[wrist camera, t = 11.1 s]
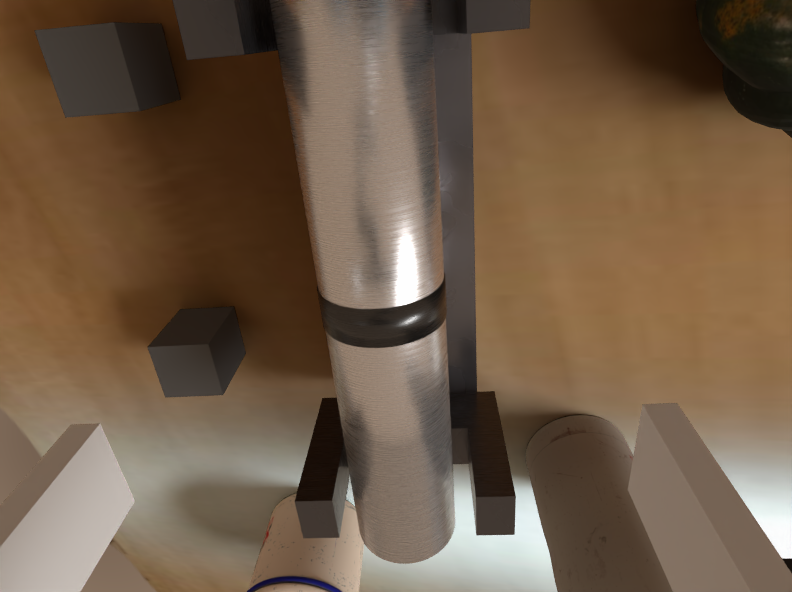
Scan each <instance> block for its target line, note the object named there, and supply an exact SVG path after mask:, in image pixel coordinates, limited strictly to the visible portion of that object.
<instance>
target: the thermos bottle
mask: <svg viewBox="0 0 792 592" xmlns="http://www.w3.org/2000/svg"><path fill="white" fill-rule="evenodd" d="M632 462H633V454H632V452H631V450H630V448H629V446H628V444H627V442H626V440H625V438H624V436H623V434H622V433H621V432H620V430H619V429H618V428H617V427H616V426H614V425H613V424H612V423H610V422H608V421H606V420H604V419H602V418H598V417H595V416H588V415H573V416H568V417H563V418H560V419H557V420H554V421H552V422H550V423H549V424H547V425H545V426H544V427H542V428H541V429H540V430H538V431H537V433H536V434H535V435H534V436H533V437H532V439H531V440H530V442H529V444H528V447H527V450H526V463H527V467H528V471H529V476H530V480H531V484H532V488H533V492H534V496H535V500H536V504H537V509H538V513H539V517H540V521H541V525H542V528H543V532H544V535H545V539H546V542H547V545H548V549H549V552H550V557H551V562H552V568H553V573H554V578H555V583H556V587H557V591H558V592H673V591H672V588H671V586H670V584H669V582H668V579H667V577H666V575H665V573H664V570H663V568H662V566H661V564H660V561H659V559H658V557H657V555H656V552H655V550H654V548H653V545H652V543H651V541H650V539H649V536H648V534H647V532H646V530H645V527H644V525H643V523H642V521H641V518H640V516H639V514H638V512H637V509H636V507H635V505H634V502H633V500H632V498H631V496H630V493H629V491H628V485H629V480H630V474H631V468H632Z"/></svg>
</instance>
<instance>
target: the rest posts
mask: <svg viewBox="0 0 792 592" xmlns="http://www.w3.org/2000/svg"><path fill="white" fill-rule="evenodd" d="M34 31H35V33H36V36H37V39H38V42H39V45H40V47H41V50H42V53H43V56H44V59H45V62H46V64H47V67H48V70H49V73H50V76H51V78H52V81H53V84H54V87H55V90H56V92H57V95H58V98H59V101H60V104H61V106H62V109H63V112H64V115H65V118H66V117H78V116H89V115H101V114H113V113H124V112H136V111H142V110H146V109H149V108H153V107H156V106H160V105H163V104H167V103H170V102H174V101H177V100H181V99H180V95H179V91H178V87H177V83H176V79H175V75H174V71H173V67H172V63H171V60H170V56H169V52H168V48H167V44H166V40H165V36H164V32H163V28H162V24H155V23H117V22H113V23H103V24H93V25H83V26H73V27H63V28H53V29H43V30H34ZM148 350H149V353H150V356H151V358H152V361H153V364H154V367H155V370H156V372H157V375H158V378H159V381H160V384H161V386H162V389H163V392H164V395H165V397H187V396H211V395H223V394H224V393H225V391H226V389H227V387H228V385H229V383H230V381H231V380H232V378H233V376H234V374H235V372H236V370H237V369H238V367H239V365H240V363H241V361H242V359H243V358H244V356H245V354H246V352H245V348H244V344H243V340H242V336H241V332H240V329H239V325H238V321H237V317H236V313H235V309H234V307H216V308H198V309H180V310H179V311H178V312H177V314H176V315H175V316H174V317H173V318H172V319H171V321H170V322H169V323H168V324H167V325H166V326H165V327H164V329H163V330H162V331H161V332H160V333H159V334H158V336H157V337H156V338H155V339H154V340H153V341H152V342H151V344H150V345H149V346H148Z"/></svg>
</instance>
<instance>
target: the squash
mask: <svg viewBox="0 0 792 592" xmlns="http://www.w3.org/2000/svg"><path fill="white" fill-rule="evenodd" d="M696 13H697V18H698V23H699V29H700V33H701V36H702V38H703V40H704V41H705V43H706V44H707V45H708V47H709V48H710V49H711V50H712V51H713V53H714V54H715V55H716V56H717V58H718V59H719V60H720V61H721V62H722V63H723V64H724V65H723V87H724V91H725V94H726V96H727V98H728V100H729V102H730V103H731V104H732V105H733V107H734V108H735V109H736V110H737V111H738V113H740V114H741V115H743V116H744V117H746V118H748V119H749V120H751V121H753V122H756V123H759V124H762V125H764V126H767V127H771V128H776V129H782V130H783V131H784V132H786V133H787V134H788V135H789V136H790V137H792V0H697V1H696Z"/></svg>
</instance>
